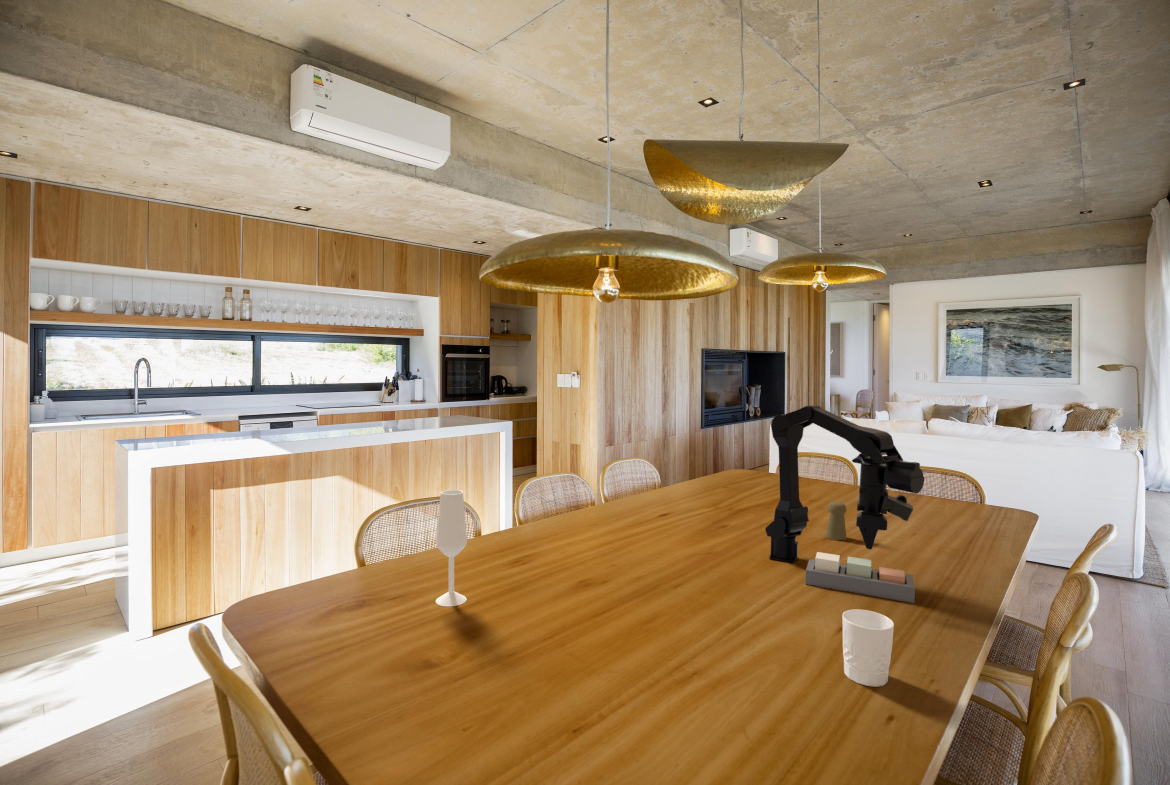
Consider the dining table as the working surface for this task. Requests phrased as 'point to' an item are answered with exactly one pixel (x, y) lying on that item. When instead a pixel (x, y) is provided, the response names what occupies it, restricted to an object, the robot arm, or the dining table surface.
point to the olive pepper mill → (836, 521)
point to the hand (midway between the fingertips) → (869, 548)
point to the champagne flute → (451, 538)
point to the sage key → (859, 567)
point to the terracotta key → (891, 575)
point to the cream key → (827, 562)
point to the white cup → (867, 646)
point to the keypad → (861, 583)
